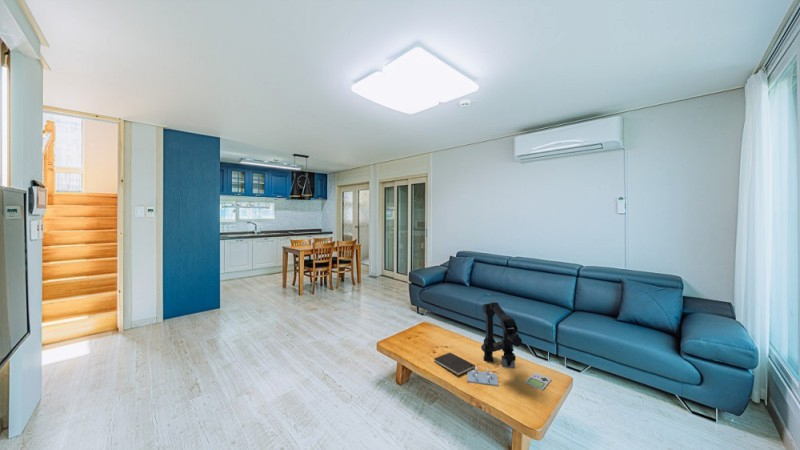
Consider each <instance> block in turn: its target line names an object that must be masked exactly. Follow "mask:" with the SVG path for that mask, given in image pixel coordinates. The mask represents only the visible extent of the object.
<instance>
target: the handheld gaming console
mask: <svg viewBox="0 0 800 450" xmlns="http://www.w3.org/2000/svg"><path fill="white" fill-rule="evenodd" d="M551 381H552V378H551V377H548V376H545V375H543V374H541V373H538V372H533V373H532V374H531V375H530V376H529V377H528V378H527V379H526V380H525V384H526V385H529V386H530V387H532V388H533V387H534V388H536V389H538V390H540V391H544V389H546V387H547V386H548V385H549V383H551Z"/></svg>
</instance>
